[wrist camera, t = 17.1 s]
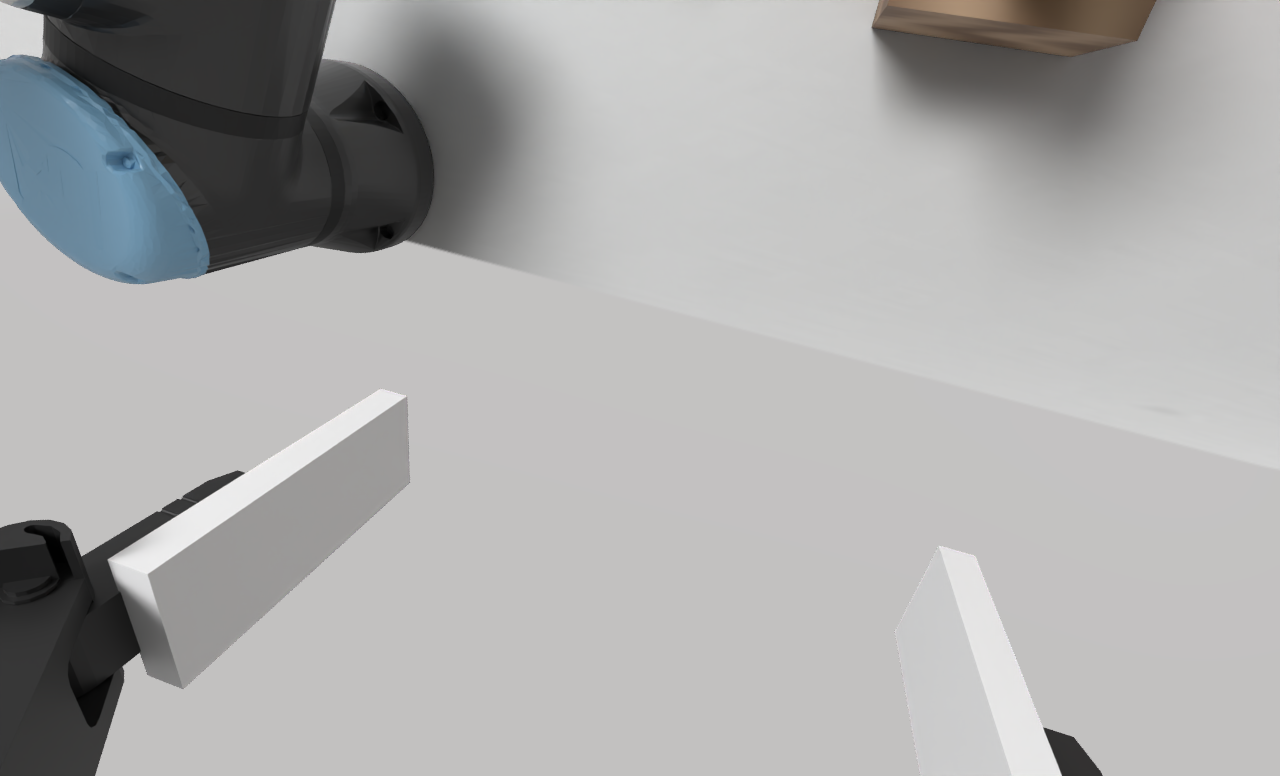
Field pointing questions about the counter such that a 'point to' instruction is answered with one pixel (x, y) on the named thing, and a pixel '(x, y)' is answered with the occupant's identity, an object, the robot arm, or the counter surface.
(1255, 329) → the counter surface
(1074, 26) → the walnut block
